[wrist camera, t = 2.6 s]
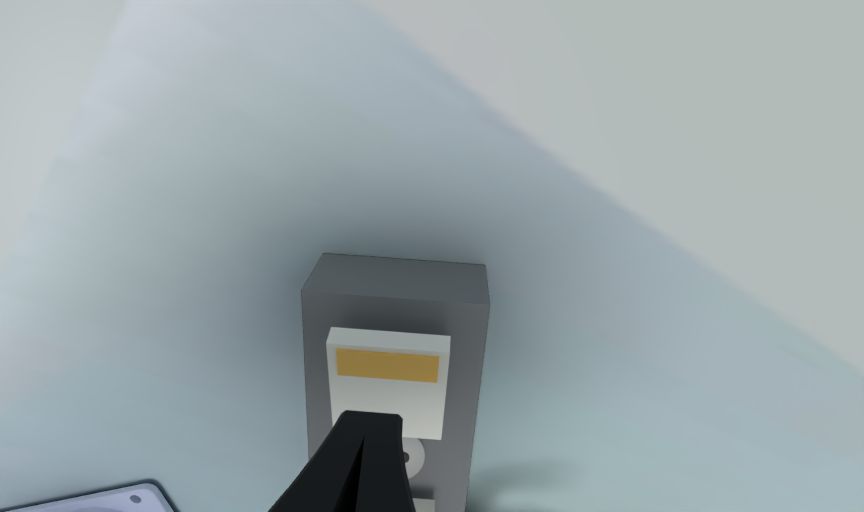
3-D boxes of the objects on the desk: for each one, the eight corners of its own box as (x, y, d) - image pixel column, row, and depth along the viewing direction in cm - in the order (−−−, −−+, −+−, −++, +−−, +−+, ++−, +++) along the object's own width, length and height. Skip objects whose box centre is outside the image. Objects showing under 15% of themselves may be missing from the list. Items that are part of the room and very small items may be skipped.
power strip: (453, 545, 25) (453, 614, 22) (330, 535, 25) (313, 602, 22) (485, 265, 19) (490, 309, 16) (323, 253, 19) (298, 294, 16)
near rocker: (442, 412, 18) (441, 442, 17) (339, 404, 18) (332, 433, 17) (450, 325, 16) (449, 354, 15) (334, 317, 16) (325, 345, 15)
